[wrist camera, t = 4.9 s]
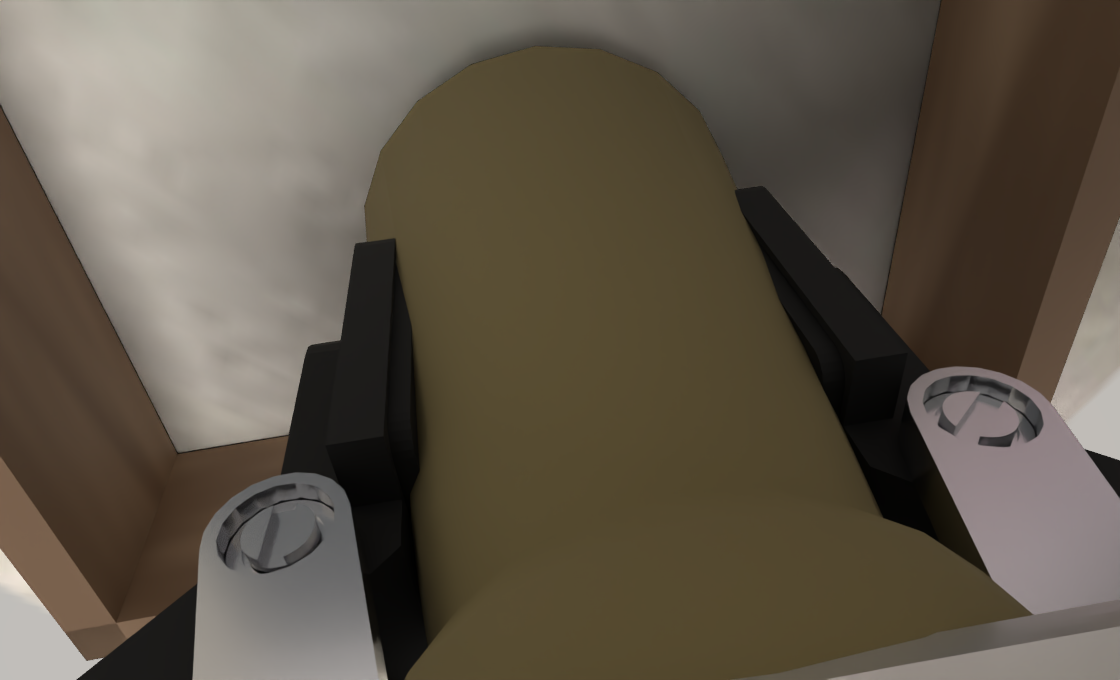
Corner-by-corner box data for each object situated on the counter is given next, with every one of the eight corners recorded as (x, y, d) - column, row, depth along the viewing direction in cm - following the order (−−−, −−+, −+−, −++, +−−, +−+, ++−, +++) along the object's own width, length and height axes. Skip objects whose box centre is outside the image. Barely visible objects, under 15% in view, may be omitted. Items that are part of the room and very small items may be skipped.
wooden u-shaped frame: (1018, -150, 12) (1249, -134, 8) (905, 361, 17) (1018, 487, 14) (-129, -19, 10) (-376, 58, 7) (152, 488, 16) (86, 660, 13)
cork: (476, -42, 10) (839, 1080, 1) (802, 163, 13) (1699, 1039, 4) (304, 303, 13) (37, 1459, 4) (602, 419, 15) (853, 1291, 6)
